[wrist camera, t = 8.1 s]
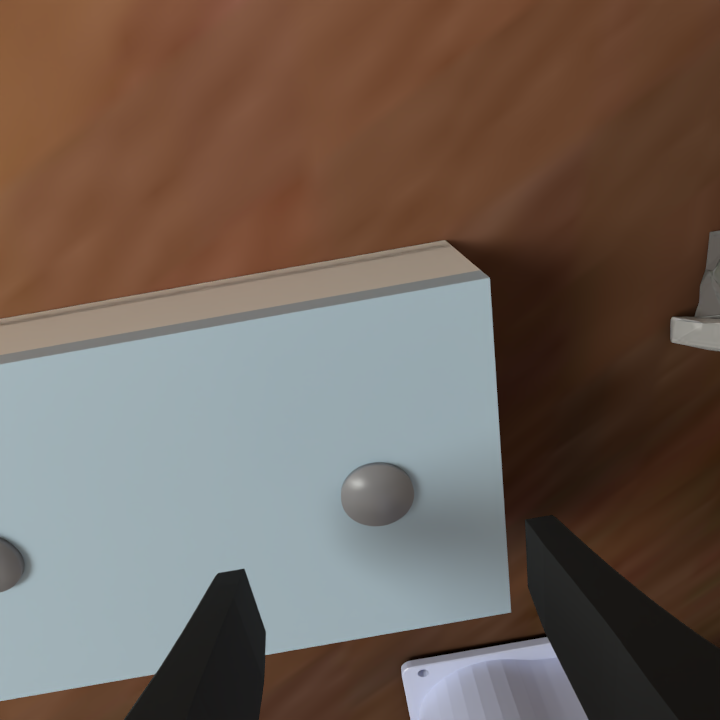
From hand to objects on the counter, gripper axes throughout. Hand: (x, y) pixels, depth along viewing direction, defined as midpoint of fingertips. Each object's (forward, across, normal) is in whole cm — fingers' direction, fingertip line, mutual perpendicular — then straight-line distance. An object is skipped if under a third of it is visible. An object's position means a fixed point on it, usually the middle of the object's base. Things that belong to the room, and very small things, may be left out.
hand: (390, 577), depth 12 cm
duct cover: (+4, +6, 0) cm, 7 cm away
